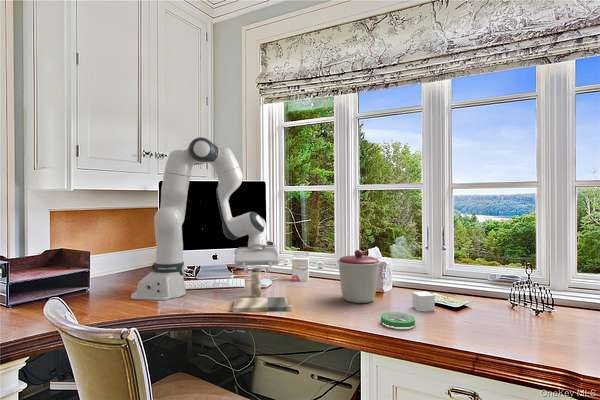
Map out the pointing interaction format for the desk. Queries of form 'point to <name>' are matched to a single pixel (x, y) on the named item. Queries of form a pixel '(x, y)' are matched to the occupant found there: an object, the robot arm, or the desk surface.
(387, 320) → the tape roll
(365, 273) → the canister
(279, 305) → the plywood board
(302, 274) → the ink cartridge box
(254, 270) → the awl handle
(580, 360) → the desk surface
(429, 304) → the adhesive note
